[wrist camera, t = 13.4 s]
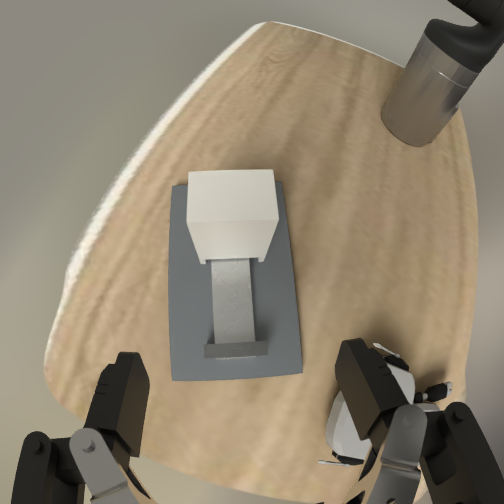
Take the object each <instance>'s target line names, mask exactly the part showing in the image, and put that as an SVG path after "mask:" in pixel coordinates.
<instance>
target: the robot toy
mask: <svg viewBox="0 0 504 504" xmlns="http://www.w3.org/2000/svg"><path fill="white" fill-rule="evenodd" d="M373 344H374V346H375V347H378V348H380V349H382V350H384V351H385V352H387V353H389V354H391V355H384V356H383V357H384V359H385V361H386V363H387V364H388V367H389V368H390V370H391V371H392V375H394V377H395V378H396V380H397V382H398V384H399V385H400V387H401V389H402V391H403V393H404V395H405V396H406V398H407V400H408V402H409V403H410V404H411V405H416V406H418V407H420V408H421V409H422V410H423V411H424V412H430V411H440V410H439V407H438V406H437V405H435V404H430V403H425V402H423V400H427V401H430V402H435V401H438V400H441V399H444V398H446V396H448V395H450V394H451V392H452V389H449V387H452V383H451V382H446V383H441V384H437V385H434V386H431V387H428V388H427V390H426V391H425V393H424V394H422V393H420V392H418V393H415V379H414V377H413V375H412V374H411V373H410V372H409V366H408V365H407V364H406V363H405V362H404V361H403V360H402V359H400V358H399V357H400V355H399V354H397V353H393V352H391V351H389V350H388V349H386V348H384V347H382V346H381V345H380V344H378V343H373ZM325 437H326V444H327V445H328V446H329V447H330V448H331V449H332V450H333V452H332V455H333V456H334V457H336V458H337V459H338V460H339V461H340V462H342V463H339V462H329V461H324V460H319V461H317V462H319V463H320V464H332V465H342V466H344V467H349V465H360V464H363V463H364V460H365V458H366V455H367V453H368V450H369V448H370V445H371V441H370V439H366V440H363V441H360V439H359V436H358V433H357V431H356V428H355V425H354V423H353V420H352V417H351V415H350V412H349V410H348V407H347V405H346V402H345V399H344V397H343V394H342V392H341V390H340V392H339V393H338V395H337V396H336V398H335V400H334V403H333V406H332V409H331V412H330V415H329V418H328V421H327V426H326V431H325ZM419 465H420V464H419V462H418V466H419Z"/></svg>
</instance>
